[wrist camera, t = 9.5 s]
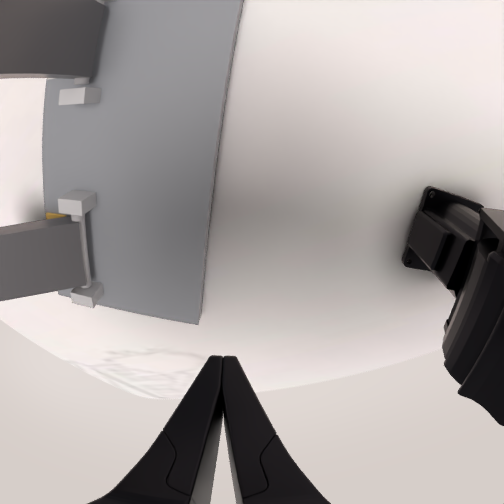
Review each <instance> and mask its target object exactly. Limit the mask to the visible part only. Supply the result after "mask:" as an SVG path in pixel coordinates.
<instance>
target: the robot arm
mask: <svg viewBox="0 0 504 504" xmlns="http://www.w3.org/2000/svg"><path fill="white" fill-rule="evenodd" d="M431 191H432V195H431V196H430V192H431ZM479 209H480V210H479ZM478 210H479V212H478ZM407 243H408V244H407V247H406V249H405V252H404V255H403V257H402V263H403V264H404V265H405V266H406V267H409V268H416V269H421V270H427V271H432V272H433V273H434V274H435V275H436V276H437V277H438V279H439V280H440V281H441V282H442V283H443V284H444V286H445V287H446V288H447V289H448V290H449V291H450V292H451V293H452V295H453V296H454V297H455V298H456V301H455V303H454V306H453V309H452V311H451V314H450V316H449V319H447V320H446V322H445V325H444V330H445V335H444V338H443V344H442V348H443V353H444V357H445V359H446V360H445V362H444V366H445V367H446V369H447V370H448V372H449V373H450V375H451V376H452V377H453V378H454V379H455V380H456V381H457V382H458V383H459V384H461V387H460V388H459V390H458V394H459V395H461V396H464V397H467V398H469V399H472V400H474V401H475V402H477V403H478V404H480V405H481V406H482V407H484V408H485V409H486V410H487V411H488V412H489V413H490V415H491V416H492V417H493V418H494V419H495V420H496V421H497V422H498V423H499V424H500V425H502V426H504V211H503V210H496V209H488V208H484V206H482V205H481V204H479V203H476V202H474V201H471V200H468V199H466V198H463V197H460V196H458V195H455V194H452V193H449V192H446V191H443V190H440V189H437V188H434V187H430V186H429V187H427V188H426V189H425V192H424V195H423V198H422V202H421V205H420V208H419V211H418V213H417V215H416V218H415V221H414V224H413V227H412V230H411V233H410V236H409V238H408V241H407ZM408 259H410V260H409V261H408V262H407V260H408ZM223 415H224V425H225V433H226V440H227V446H228V454H229V460H230V467H231V473H232V480H233V486H234V491H235V498H236V503H237V504H331V503H330V502H329V501H327V500H326V499H325V498H324V497H323V496H322V494H321V493H320V492H319V491H318V490H317V489H316V488H315V487H314V485H313V484H312V483H311V482H310V480H309V479H308V478H307V477H306V476H305V474H304V473H303V472H302V471H301V470H300V468H299V467H298V466H297V464H296V463H295V462H294V460H293V459H292V458H291V456H290V455H289V453H288V452H287V450H286V448H285V447H284V446H283V444H282V442H281V440H280V438H279V436H278V435H276V431H275V429H274V428H273V426H272V424H271V422H270V420H269V418H268V417H267V415H266V413H265V411H264V409H263V407H262V405H261V404H260V402H259V400H258V398H257V396H256V394H255V392H254V390H253V388H252V386H251V384H250V383H249V381H248V379H247V377H246V375H245V373H244V371H243V369H242V367H241V365H240V363H239V361H238V359H237V357H236V356H224V357H223V356H216V355H212V356H210V357H209V358H208V360H207V362H206V363H205V365H204V366H203V368H202V369H201V371H200V373H199V374H198V376H197V377H196V379H195V380H194V382H193V383H192V385H191V387H190V388H189V390H188V391H187V393H186V394H185V396H184V397H183V399H182V401H181V402H180V404H179V405H178V407H177V408H176V410H175V411H174V413H173V415H172V416H171V417H170V419H169V421H168V422H167V424H166V425H165V427H164V428H163V431H161V433H160V434H159V436H158V437H157V439H156V440H155V442H154V443H153V444H152V446H151V447H150V449H149V450H148V451H147V452H146V454H145V455H144V456H143V457H142V458H141V459H140V461H139V462H138V463H137V464H136V465H135V466H134V467H133V468H132V469H131V471H130V472H129V473H128V474H127V475H126V476H125V477H124V478H123V479H122V481H120V482H119V484H118V485H117V486H116V487H115V488H114V489H112V490H111V491H110V492H109V493H107V494H106V495H104V496H103V497H101V498H99V499H97V500H94V501H92V502H90V503H88V504H210V501H211V494H212V487H213V480H214V473H215V467H216V461H217V454H218V447H219V441H220V434H221V427H222V419H223Z"/></svg>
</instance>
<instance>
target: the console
mask: <svg viewBox="0 0 504 504" xmlns="http://www.w3.org/2000/svg"><path fill="white" fill-rule="evenodd" d="M102 1H104V5H105V10H104V14H103V18H102V22H101V27H100V32H99V36H98V42H97V47H96V53H95V59H94V65H93V72H92V77H90V79H89V84H82V85H74V80H75V79H62V78H47V80H46V89H45V100H44V113H43V137H42V165H43V189H44V203H45V214H46V219H53V218H60V217H67V216H71V214H72V215H79V216H83V215H84V214H85V225H86V238H87V249H88V258H89V267H90V275H91V282H92V285H91V286H90V287H89V288H81V287H76V288H70V289H65V290H59V291H58V294H59V295H62V296H66V297H70V298H71V299H72V303H75V304H79V305H82V306H86V307H90V308H94V307H95V305H96V304H97V305H102V306H106V307H110V308H115V309H119V310H123V311H128V312H133V313H137V314H142V315H147V316H152V317H157V318H162V319H167V320H173V321H178V322H184V323H190V324H195V325H198V324H199V320H200V316H201V311H202V298H203V286H204V274H205V263H206V253H207V243H208V233H209V223H210V214H211V205H212V197H213V188H214V180H215V172H216V164H217V157H218V149H219V142H220V135H221V128H222V121H223V114H224V108H225V101H226V95H227V89H228V83H229V77H230V71H231V65H232V59H233V53H234V48H235V42H236V37H237V32H238V27H239V21H240V16H241V11H242V6H243V1H244V0H102Z"/></svg>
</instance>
